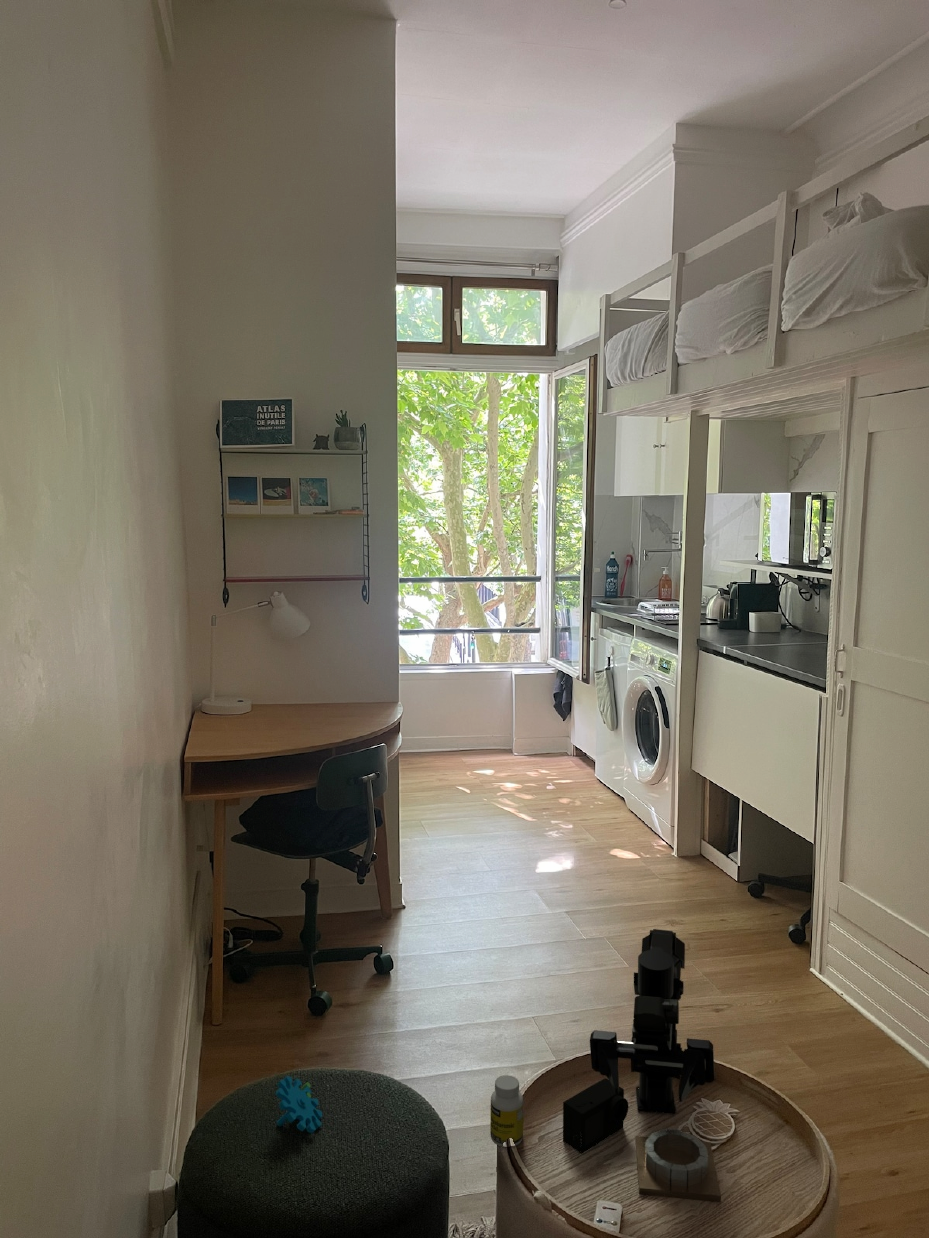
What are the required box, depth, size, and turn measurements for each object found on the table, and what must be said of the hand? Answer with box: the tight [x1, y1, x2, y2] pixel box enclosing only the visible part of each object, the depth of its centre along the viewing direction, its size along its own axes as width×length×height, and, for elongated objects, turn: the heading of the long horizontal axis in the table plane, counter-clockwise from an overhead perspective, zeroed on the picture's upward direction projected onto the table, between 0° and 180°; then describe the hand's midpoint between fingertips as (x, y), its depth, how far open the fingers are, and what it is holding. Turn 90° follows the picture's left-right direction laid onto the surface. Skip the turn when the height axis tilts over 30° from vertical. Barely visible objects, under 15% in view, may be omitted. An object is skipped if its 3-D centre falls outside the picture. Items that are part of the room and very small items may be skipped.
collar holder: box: [634, 1128, 722, 1203], centre depth 141 cm, size 12×12×4 cm
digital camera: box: [562, 1077, 629, 1155], centre depth 149 cm, size 10×5×7 cm, turn 130°
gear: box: [275, 1075, 323, 1134], centre depth 152 cm, size 11×6×10 cm
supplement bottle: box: [489, 1074, 524, 1147], centre depth 148 cm, size 5×5×10 cm
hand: (648, 1095), depth 132 cm, fingers open, 9 cm apart
